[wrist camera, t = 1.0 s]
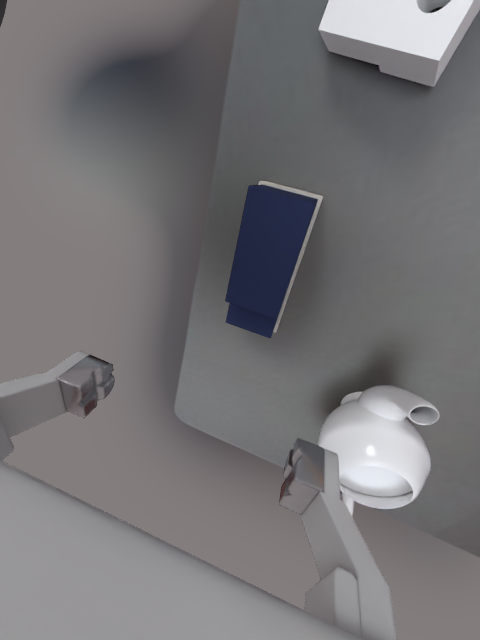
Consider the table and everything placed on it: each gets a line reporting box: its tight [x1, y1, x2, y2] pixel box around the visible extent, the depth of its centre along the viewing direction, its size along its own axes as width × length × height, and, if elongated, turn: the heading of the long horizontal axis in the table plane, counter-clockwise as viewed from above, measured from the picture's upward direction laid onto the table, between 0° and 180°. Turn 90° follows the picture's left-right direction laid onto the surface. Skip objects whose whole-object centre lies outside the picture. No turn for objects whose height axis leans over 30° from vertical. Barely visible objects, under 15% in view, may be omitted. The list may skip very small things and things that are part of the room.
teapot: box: [318, 385, 439, 515], centre depth 26 cm, size 10×20×9 cm, turn 174°
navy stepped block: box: [225, 181, 323, 338], centre depth 23 cm, size 13×5×6 cm, turn 168°
